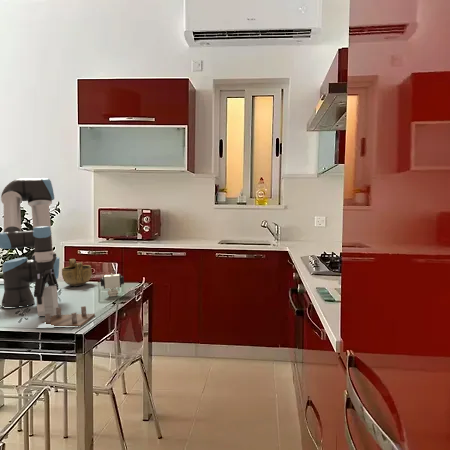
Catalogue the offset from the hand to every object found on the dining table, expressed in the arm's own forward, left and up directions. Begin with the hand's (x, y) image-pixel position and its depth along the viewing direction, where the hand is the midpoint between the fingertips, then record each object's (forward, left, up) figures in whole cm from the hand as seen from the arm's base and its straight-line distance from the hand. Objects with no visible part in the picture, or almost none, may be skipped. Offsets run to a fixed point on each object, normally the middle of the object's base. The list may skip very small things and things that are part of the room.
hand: (47, 307), depth 215 cm
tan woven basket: (-13, +71, -4) cm, 72 cm away
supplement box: (0, 0, -4) cm, 4 cm away
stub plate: (+14, -14, -3) cm, 20 cm away
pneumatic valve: (+19, +36, -3) cm, 41 cm away
